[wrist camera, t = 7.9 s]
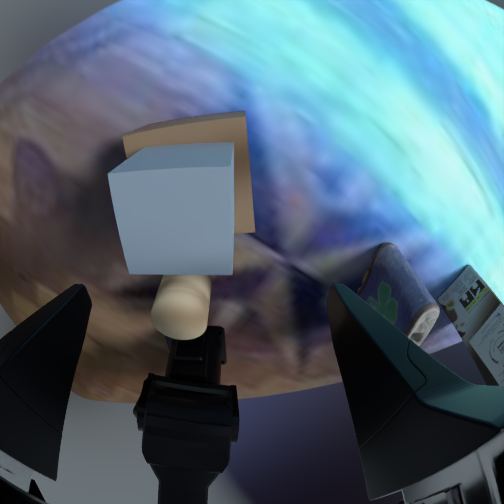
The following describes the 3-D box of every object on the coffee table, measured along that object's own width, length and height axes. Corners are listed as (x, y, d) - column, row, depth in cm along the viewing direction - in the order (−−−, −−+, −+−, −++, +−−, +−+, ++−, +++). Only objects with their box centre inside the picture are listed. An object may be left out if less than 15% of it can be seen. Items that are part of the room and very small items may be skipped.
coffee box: (434, 300, 29) (494, 407, 15) (469, 262, 26) (543, 362, 12) (459, 318, 31) (507, 406, 18) (488, 287, 28) (545, 370, 15)
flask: (379, 238, 24) (437, 325, 15) (403, 244, 24) (462, 324, 15) (343, 312, 28) (372, 399, 19) (365, 314, 29) (398, 395, 20)
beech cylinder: (213, 300, 27) (209, 340, 23) (167, 299, 27) (156, 338, 22) (210, 261, 24) (204, 301, 20) (159, 261, 24) (144, 299, 20)
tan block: (252, 200, 22) (255, 232, 17) (164, 209, 22) (147, 241, 17) (244, 110, 18) (245, 116, 14) (148, 124, 18) (122, 136, 14)
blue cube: (233, 142, 14) (230, 166, 10) (234, 224, 17) (232, 274, 13) (144, 146, 14) (107, 173, 10) (154, 225, 17) (129, 274, 13)
